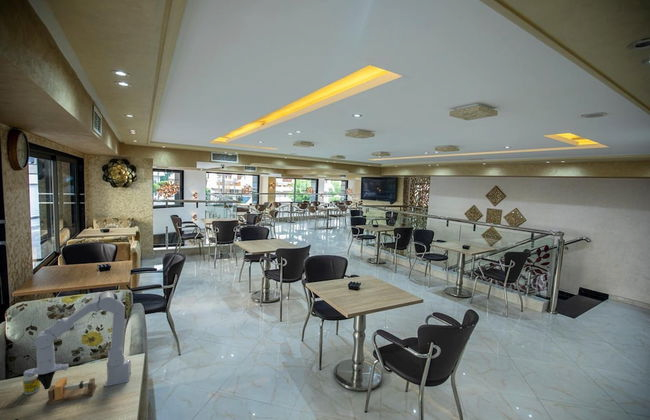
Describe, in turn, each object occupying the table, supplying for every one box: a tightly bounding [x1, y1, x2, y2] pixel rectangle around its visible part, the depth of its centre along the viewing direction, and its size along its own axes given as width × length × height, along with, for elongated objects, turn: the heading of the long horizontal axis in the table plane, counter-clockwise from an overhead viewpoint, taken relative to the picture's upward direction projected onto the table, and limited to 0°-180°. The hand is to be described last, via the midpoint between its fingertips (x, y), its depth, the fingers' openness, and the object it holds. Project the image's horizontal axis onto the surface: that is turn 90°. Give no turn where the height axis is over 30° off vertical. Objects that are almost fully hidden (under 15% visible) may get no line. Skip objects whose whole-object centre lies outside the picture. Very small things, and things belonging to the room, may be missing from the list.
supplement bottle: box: [22, 367, 41, 395], centre depth 137 cm, size 5×5×10 cm
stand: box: [45, 377, 97, 406], centre depth 135 cm, size 16×7×5 cm, turn 114°
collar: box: [54, 377, 68, 400], centre depth 134 cm, size 2×6×6 cm, turn 24°
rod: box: [54, 379, 94, 393], centre depth 135 cm, size 16×2×2 cm, turn 114°
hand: (47, 387), depth 132 cm, fingers closed
